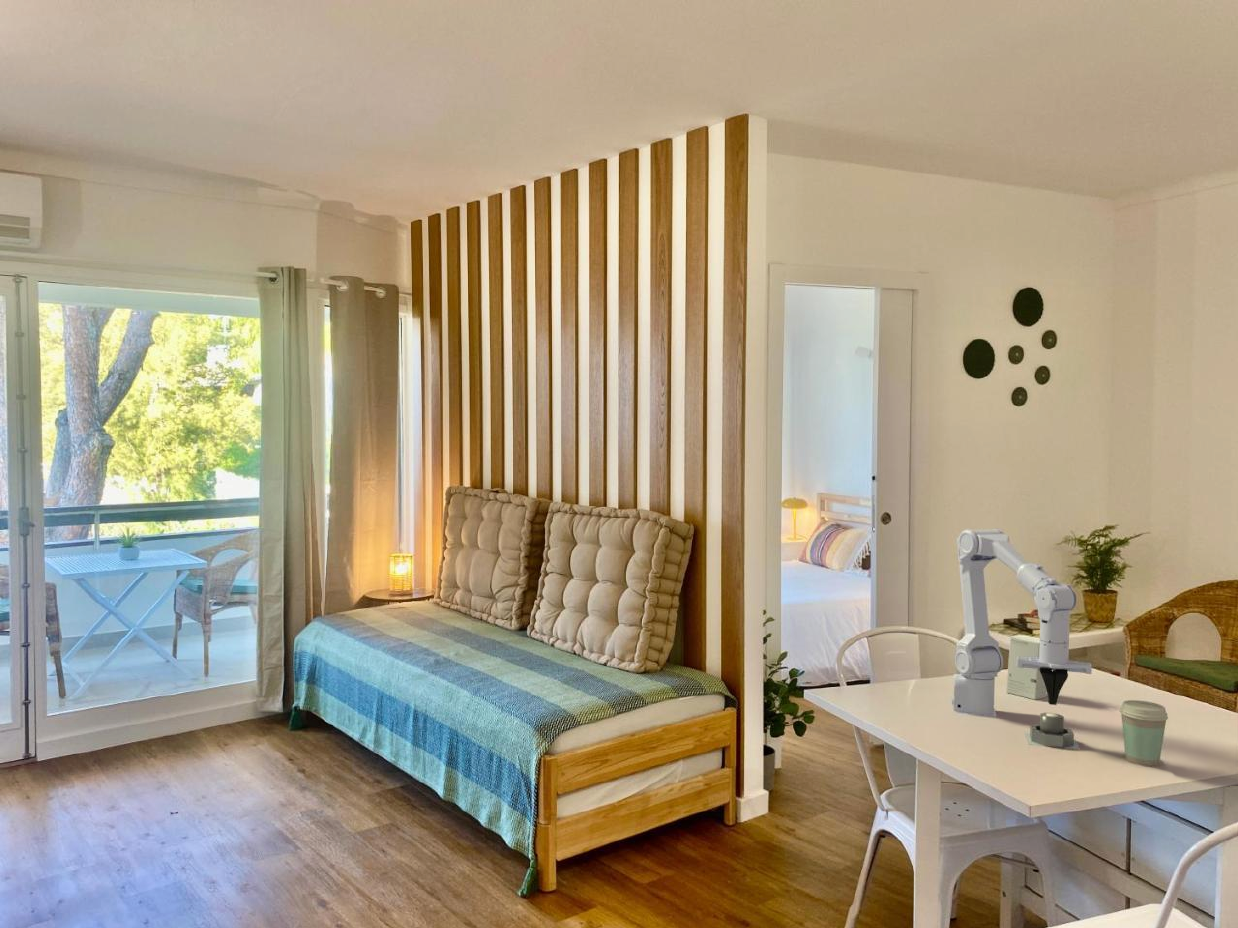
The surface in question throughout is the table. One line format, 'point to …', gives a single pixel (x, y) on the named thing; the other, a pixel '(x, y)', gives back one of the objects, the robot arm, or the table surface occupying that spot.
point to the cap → (1051, 723)
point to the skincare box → (1024, 669)
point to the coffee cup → (1143, 731)
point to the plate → (1048, 746)
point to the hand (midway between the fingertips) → (1052, 703)
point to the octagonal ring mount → (1052, 737)
